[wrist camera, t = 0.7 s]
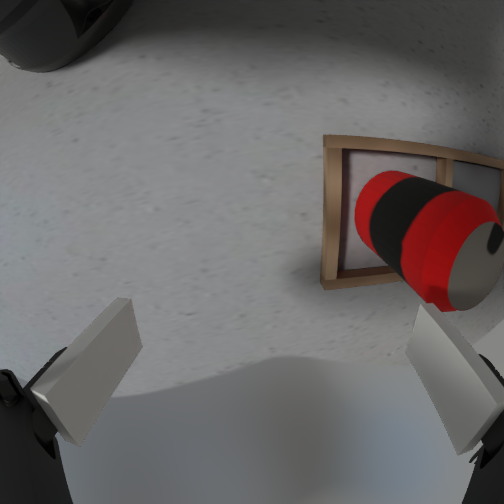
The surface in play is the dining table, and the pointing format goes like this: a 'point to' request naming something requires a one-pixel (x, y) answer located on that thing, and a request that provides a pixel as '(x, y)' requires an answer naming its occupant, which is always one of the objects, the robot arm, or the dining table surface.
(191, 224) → the dining table surface
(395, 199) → the soda can
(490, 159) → the frame
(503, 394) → the robot arm
